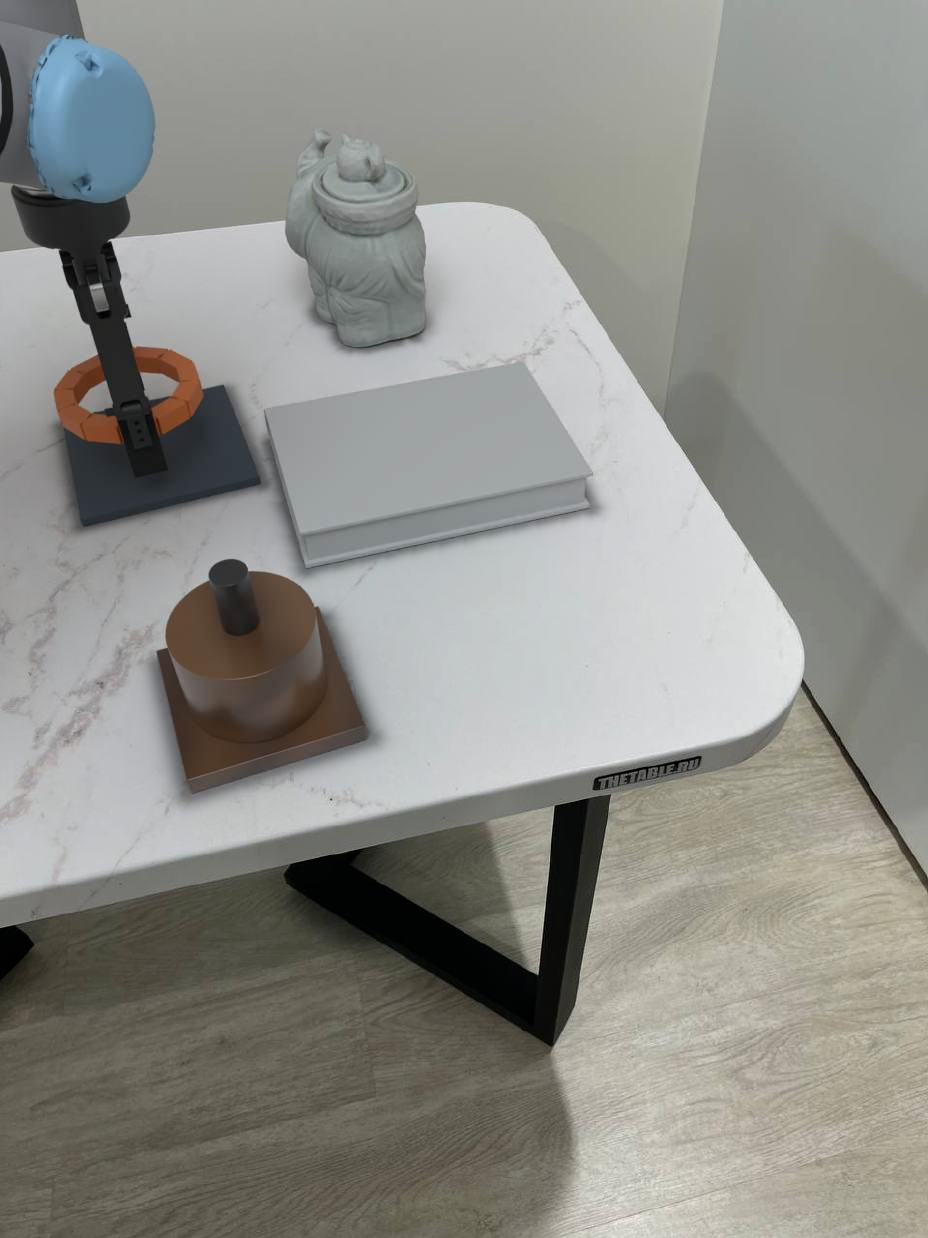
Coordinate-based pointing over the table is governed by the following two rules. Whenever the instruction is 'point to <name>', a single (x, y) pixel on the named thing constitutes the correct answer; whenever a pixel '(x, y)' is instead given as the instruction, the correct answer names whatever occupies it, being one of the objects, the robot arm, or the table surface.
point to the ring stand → (252, 677)
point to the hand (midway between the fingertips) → (139, 430)
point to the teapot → (359, 240)
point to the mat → (195, 456)
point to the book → (423, 462)
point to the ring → (107, 427)
